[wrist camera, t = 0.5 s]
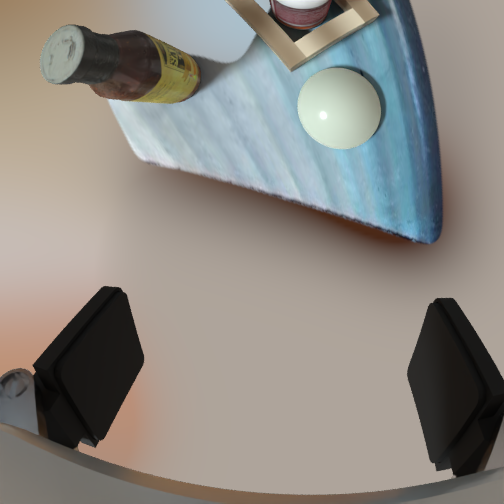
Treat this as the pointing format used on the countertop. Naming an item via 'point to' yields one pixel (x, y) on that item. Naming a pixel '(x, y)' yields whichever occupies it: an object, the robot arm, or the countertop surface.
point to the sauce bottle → (120, 65)
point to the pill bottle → (300, 12)
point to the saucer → (339, 108)
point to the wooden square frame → (311, 44)
